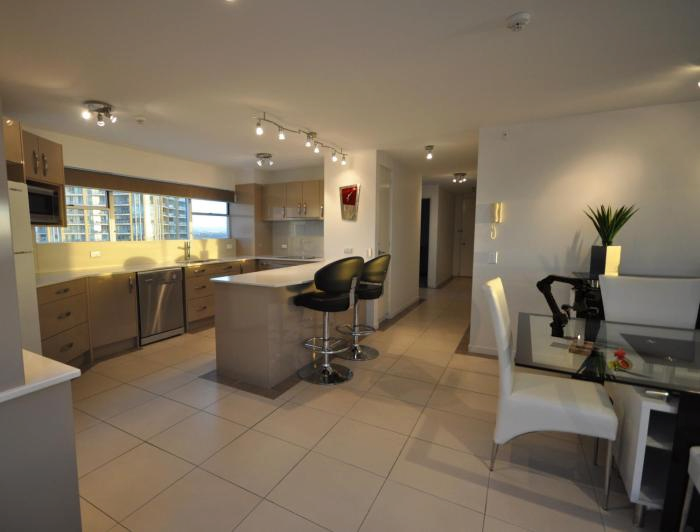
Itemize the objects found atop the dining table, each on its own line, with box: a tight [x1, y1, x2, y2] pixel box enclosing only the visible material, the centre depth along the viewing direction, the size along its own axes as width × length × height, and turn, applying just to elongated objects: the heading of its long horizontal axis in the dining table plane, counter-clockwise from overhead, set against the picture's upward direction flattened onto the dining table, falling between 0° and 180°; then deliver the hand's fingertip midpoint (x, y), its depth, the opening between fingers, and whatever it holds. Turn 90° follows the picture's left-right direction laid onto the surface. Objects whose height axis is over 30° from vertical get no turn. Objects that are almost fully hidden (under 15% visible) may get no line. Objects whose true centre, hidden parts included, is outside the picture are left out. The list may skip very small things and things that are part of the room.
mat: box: [549, 341, 571, 350], centre depth 205 cm, size 9×10×1 cm
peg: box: [577, 334, 585, 349], centre depth 194 cm, size 3×3×10 cm
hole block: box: [568, 338, 595, 357], centre depth 198 cm, size 10×20×3 cm, turn 138°
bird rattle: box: [608, 348, 634, 372], centre depth 168 cm, size 6×11×9 cm
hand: (578, 322), depth 210 cm, fingers open, 9 cm apart
